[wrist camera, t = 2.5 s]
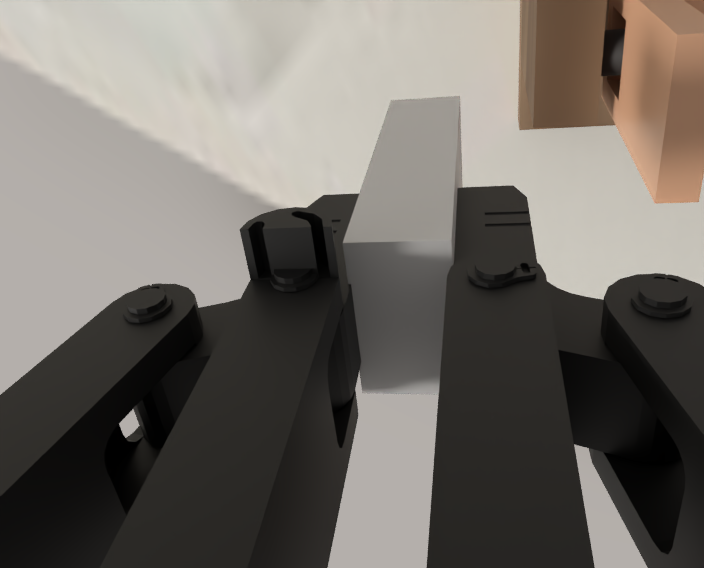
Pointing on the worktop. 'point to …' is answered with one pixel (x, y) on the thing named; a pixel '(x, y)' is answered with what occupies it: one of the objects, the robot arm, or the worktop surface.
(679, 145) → the tan wooden l-shaped block
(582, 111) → the brown rod stand
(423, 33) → the worktop surface
